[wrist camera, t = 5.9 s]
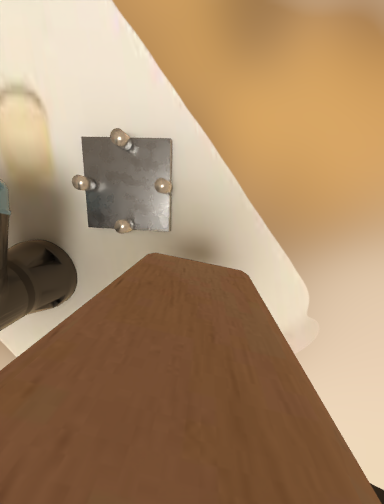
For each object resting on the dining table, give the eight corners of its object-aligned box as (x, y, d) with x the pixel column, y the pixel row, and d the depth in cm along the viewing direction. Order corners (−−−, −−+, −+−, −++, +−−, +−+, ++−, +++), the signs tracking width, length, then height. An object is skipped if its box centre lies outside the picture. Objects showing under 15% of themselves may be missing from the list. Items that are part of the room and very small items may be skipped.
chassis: (91, 228, 40) (76, 230, 35) (84, 137, 36) (67, 127, 31) (172, 232, 38) (167, 236, 34) (174, 139, 35) (169, 129, 30)
